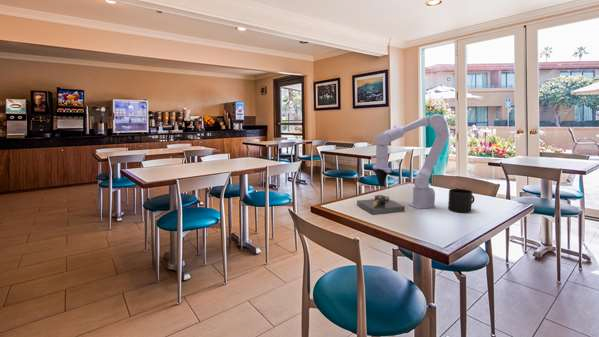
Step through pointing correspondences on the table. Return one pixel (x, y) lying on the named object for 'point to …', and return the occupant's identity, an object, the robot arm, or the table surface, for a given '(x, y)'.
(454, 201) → the mug
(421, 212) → the table surface
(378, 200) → the level knob
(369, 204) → the tribrach base
